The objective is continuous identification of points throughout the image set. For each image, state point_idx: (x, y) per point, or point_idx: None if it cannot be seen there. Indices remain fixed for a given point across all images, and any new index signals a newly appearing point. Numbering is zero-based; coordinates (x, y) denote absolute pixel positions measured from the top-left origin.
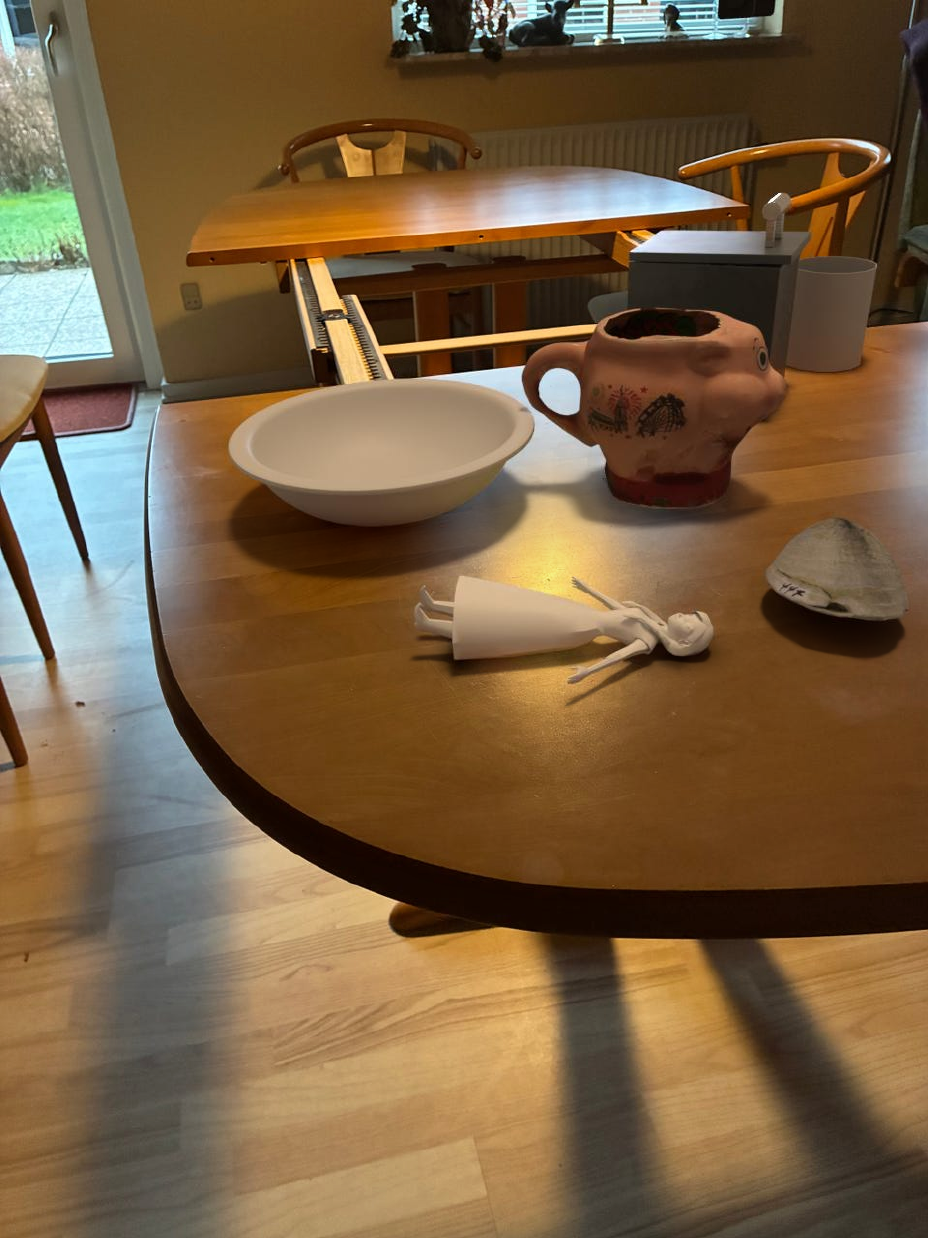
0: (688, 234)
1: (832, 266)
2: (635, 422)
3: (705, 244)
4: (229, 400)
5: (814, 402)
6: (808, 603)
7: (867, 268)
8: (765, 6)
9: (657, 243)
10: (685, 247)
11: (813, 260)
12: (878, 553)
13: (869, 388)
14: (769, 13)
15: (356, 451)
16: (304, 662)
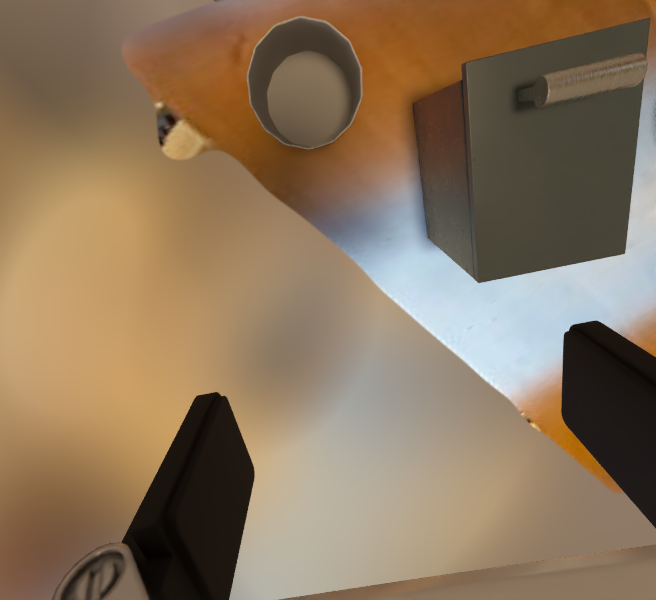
0: (503, 235)
1: (256, 109)
2: None
3: (573, 180)
4: (600, 475)
5: (450, 49)
6: None
7: (260, 48)
8: (225, 428)
9: (568, 246)
10: (594, 197)
11: (272, 133)
12: None
13: (382, 7)
14: (227, 399)
15: None
16: None
